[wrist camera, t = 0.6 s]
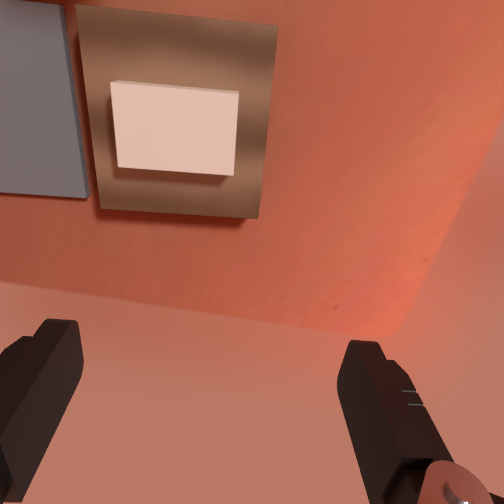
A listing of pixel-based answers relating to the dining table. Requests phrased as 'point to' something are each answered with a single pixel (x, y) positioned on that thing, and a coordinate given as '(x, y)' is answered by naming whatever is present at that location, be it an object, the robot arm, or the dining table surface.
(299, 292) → the dining table surface
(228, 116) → the cream tile
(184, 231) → the dining table surface
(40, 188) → the slate mat
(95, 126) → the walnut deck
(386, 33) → the dining table surface
